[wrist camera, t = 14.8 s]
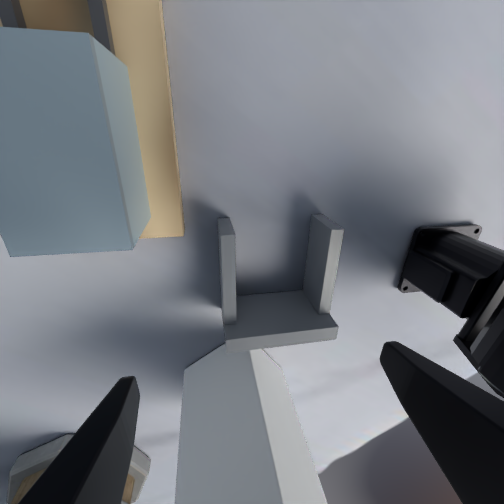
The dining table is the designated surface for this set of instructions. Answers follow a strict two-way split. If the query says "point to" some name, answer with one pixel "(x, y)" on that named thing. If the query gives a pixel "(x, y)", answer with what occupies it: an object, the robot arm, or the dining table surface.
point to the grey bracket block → (67, 140)
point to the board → (134, 91)
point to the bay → (282, 295)
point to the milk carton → (242, 435)
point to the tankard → (41, 457)
